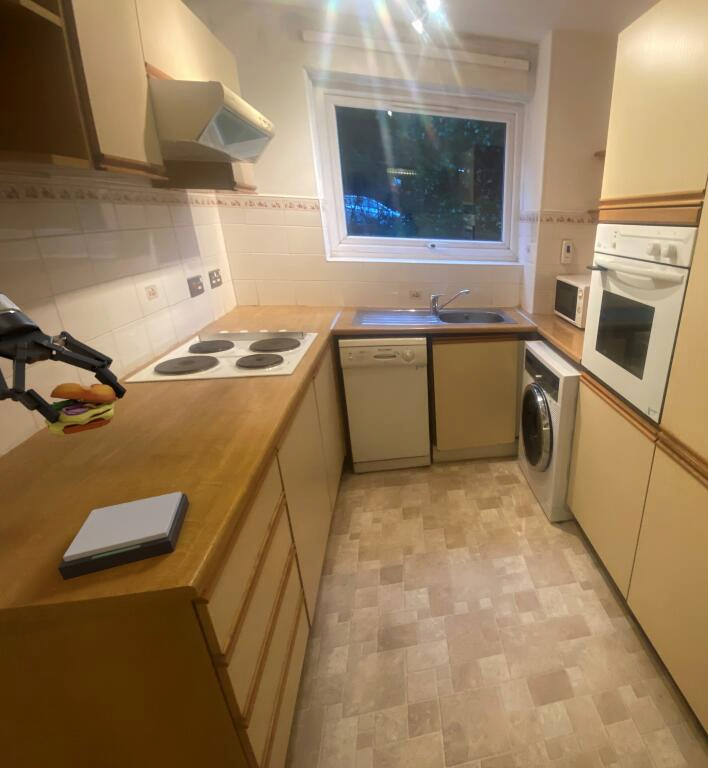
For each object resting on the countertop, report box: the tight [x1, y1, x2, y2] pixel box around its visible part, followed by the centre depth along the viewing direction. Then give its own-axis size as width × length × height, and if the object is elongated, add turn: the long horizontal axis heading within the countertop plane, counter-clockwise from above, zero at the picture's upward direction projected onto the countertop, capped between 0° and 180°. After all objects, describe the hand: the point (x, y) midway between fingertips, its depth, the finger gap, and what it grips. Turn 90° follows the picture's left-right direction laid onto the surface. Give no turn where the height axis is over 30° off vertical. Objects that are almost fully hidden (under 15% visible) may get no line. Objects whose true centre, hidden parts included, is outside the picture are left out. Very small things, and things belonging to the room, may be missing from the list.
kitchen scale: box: [57, 491, 190, 580], centre depth 75 cm, size 14×14×3 cm
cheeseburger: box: [44, 382, 119, 438], centre depth 86 cm, size 10×11×10 cm
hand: (91, 406), depth 85 cm, fingers closed on cheeseburger, 11 cm apart
